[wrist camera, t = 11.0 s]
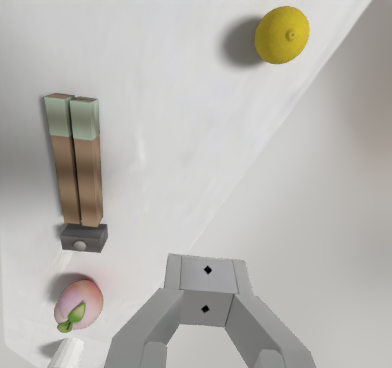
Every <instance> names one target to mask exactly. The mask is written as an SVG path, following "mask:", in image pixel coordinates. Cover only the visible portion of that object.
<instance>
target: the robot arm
mask: <svg viewBox="0 0 392 368" xmlns="http://www.w3.org/2000/svg"><path fill="white" fill-rule="evenodd" d="M179 324H188V325H206V326H216V327H225V330H226V332H227V333H228V335H229V337H230V338H231V340H232V341H233V343H234V345H235V346H236V348H237V350H238V351H239V353H240V355H241V356H242V358H243V359H244V361H245V363H246V364H247V366H248V368H316V366H315V363H314V361H313V358H312V356H311V353H310V351H309V350H308V349H307V348H306V347H305V346H304V345H303V344H302V343H301V341H300V340H299V339H298V338H297V337H296V336H295V335H294V334H293V333H292V332H291V331H290V330H289V329H288V328H287V327H286V326H285V324H284V323H283V322H282V321H281V320H280V319H279V318H278V317H277V316H276V315H275V314H274V313H273V312H272V311H271V310H270V309H269V308H268V306H267V305H266V304H265V303H264V302H263V301H262V300H261V299H260V298H259V297H258V296H254V294H253V290H252V286H251V282H250V278H249V274H248V270H247V266H246V262H245V261H244V260H236V259H232V260H231V259H223V258H210V257H199V256H189V255H182V256H181V255H178V254H170V253H169V255H168V259H167V267H166V274H165V282H164V288H163V289H162V288H159V289H158V291H157V292H156V293H155V294H154V295H153V296H152V297H151V298H150V299H149V300H148V301H147V302H146V303H145V304H144V305H143V306H142V307H141V308H140V309H139V311H138V312H137V313H136V314H135V315H134V316H133V317H132V318H131V319H130V320H129V321H128V322H127V323H126V324H125V325H124V326H123V327H122V328H121V329H120V331H119V332H118V333H117V334H116V335H115V336H114V337H113V338H112V342H111V345H110V349H109V352H108V355H107V359H106V363H105V366H104V368H166V356H167V347H166V345H167V343H168V342H169V340H170V339H171V337H172V335H173V334H174V333H175V331H176V329H177V328H178V326H179Z"/></svg>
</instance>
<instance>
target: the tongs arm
mask: <svg viewBox="0 0 392 368" xmlns="http://www.w3.org/2000/svg"><path fill="white" fill-rule="evenodd" d="M70 109H71V119H72V130H73V138H74V144H75V155H76V165H77V175H78V186H79V196H80V206H81V217H82V226H91V227H98V225H99V223H100V221H101V219H102V218H103V203H102V182H101V161H100V139H99V134H100V130H99V108H98V99H94V98H86V97H77V98H75V99H72V100H70Z"/></svg>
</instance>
